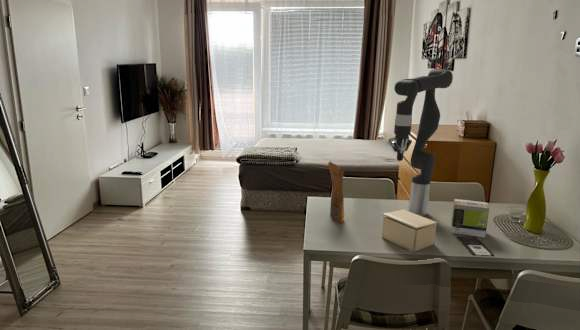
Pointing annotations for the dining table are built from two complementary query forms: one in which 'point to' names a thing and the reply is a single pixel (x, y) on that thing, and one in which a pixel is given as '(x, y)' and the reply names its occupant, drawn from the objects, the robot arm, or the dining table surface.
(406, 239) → the carton
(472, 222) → the tea box
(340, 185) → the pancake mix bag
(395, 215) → the carton flap
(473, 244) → the chocolate bar
